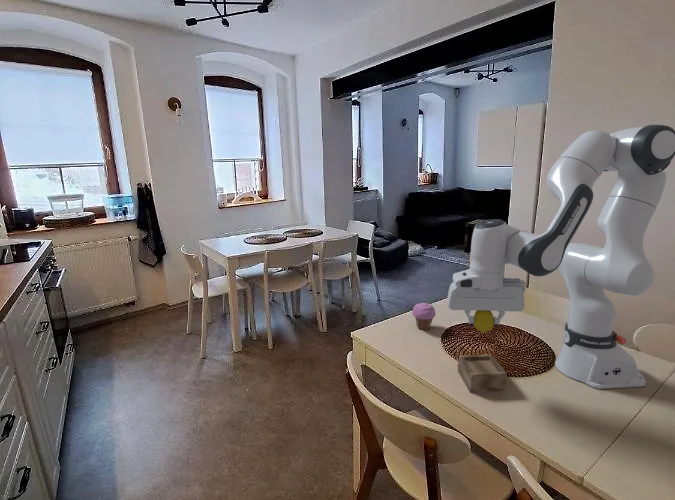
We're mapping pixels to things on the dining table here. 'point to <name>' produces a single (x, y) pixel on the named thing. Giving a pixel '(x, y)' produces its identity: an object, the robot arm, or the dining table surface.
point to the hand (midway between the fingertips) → (483, 323)
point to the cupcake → (423, 315)
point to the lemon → (483, 321)
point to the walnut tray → (481, 373)
